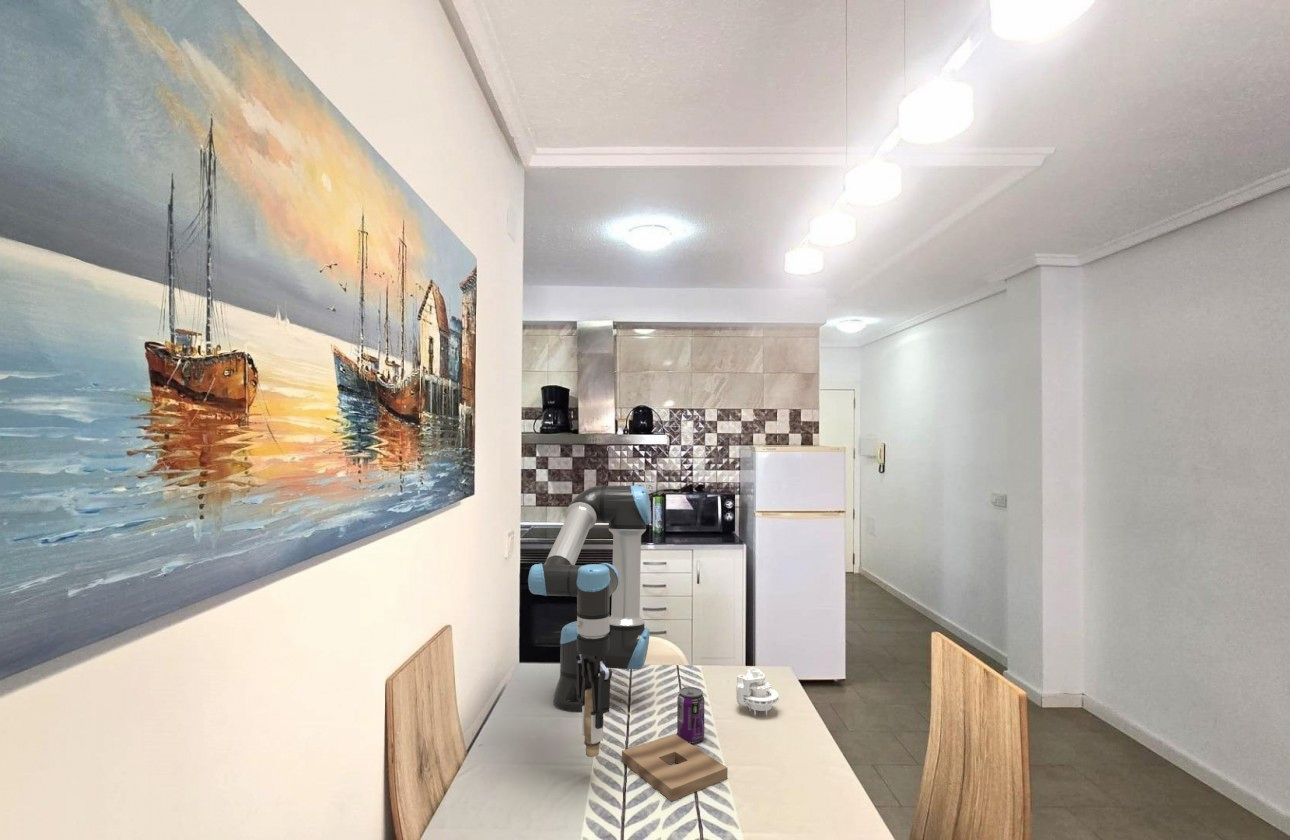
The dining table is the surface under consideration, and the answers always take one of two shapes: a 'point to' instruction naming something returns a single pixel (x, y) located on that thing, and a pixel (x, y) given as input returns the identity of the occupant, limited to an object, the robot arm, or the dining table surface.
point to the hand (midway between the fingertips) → (592, 737)
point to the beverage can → (690, 714)
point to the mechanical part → (755, 691)
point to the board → (677, 779)
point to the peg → (589, 726)
